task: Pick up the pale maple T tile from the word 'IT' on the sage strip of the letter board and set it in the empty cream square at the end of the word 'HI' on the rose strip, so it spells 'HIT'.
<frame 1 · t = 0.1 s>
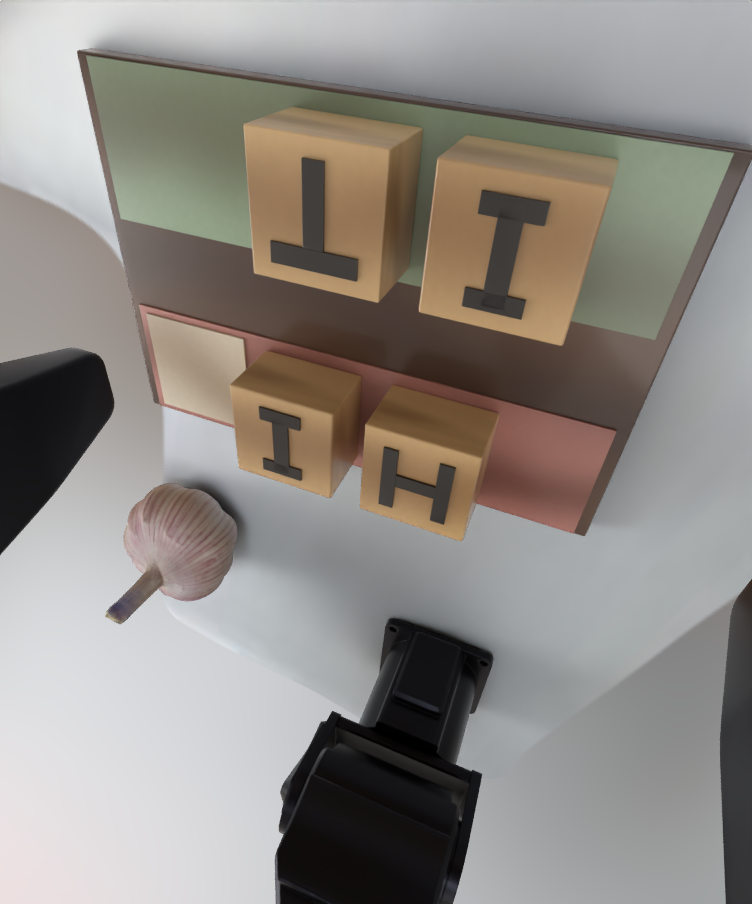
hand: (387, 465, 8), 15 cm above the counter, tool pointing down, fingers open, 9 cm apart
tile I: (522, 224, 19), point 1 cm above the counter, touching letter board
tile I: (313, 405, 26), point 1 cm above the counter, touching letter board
garlic bulb: (202, 514, 37), on the counter
letter board: (363, 309, 24), on the counter
tile H: (437, 441, 25), point 1 cm above the counter, touching letter board
tile T: (352, 191, 20), point 1 cm above the counter, touching letter board
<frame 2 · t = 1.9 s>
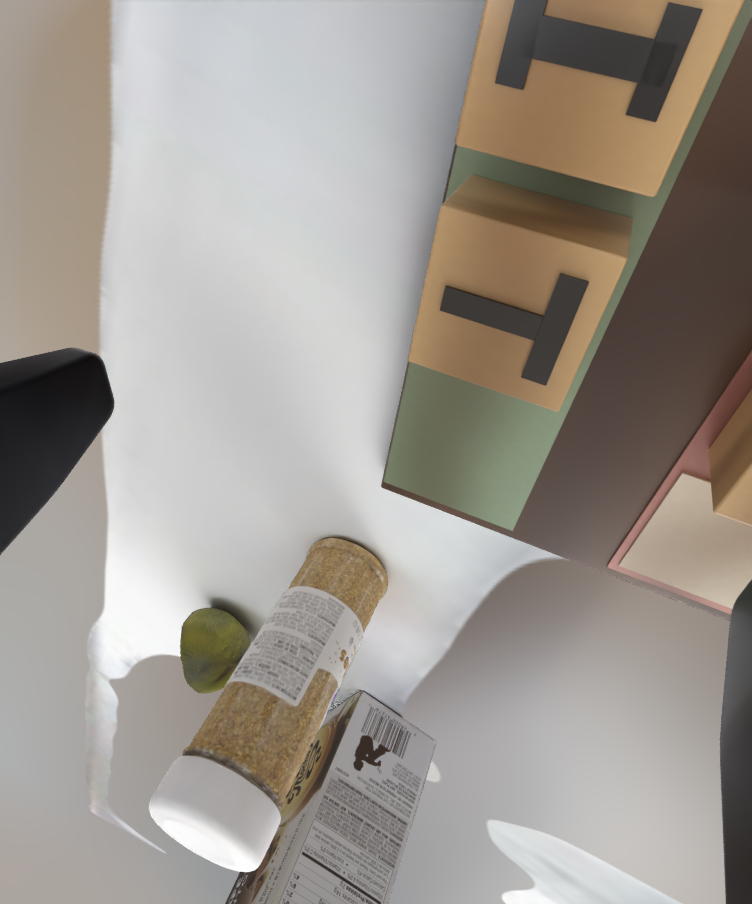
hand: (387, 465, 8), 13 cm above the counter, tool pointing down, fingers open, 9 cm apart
lime: (235, 615, 39), on the counter
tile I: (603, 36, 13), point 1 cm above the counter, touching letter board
sprinkles bottle: (350, 562, 31), on the counter
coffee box: (371, 729, 41), on the counter
letter board: (691, 299, 17), on the counter
tile T: (524, 273, 17), point 1 cm above the counter, touching letter board
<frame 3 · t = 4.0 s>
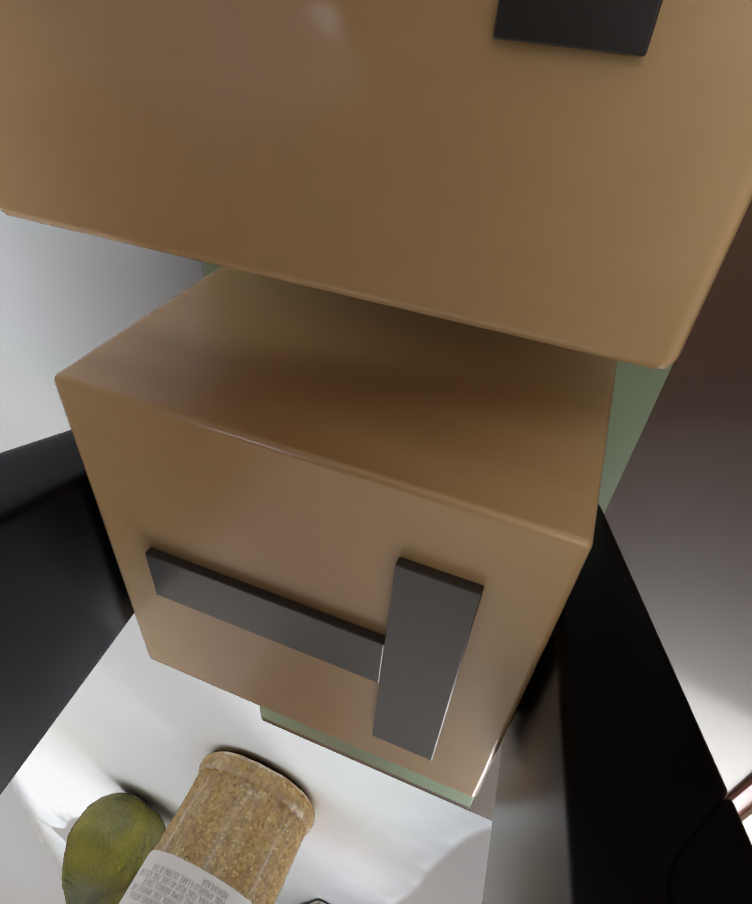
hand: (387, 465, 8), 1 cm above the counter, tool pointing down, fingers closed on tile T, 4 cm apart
lime: (151, 798, 29), on the counter
sprinkles bottle: (264, 775, 21), on the counter
tile T: (396, 446, 8), point 1 cm above the counter, touching gripper, letter board
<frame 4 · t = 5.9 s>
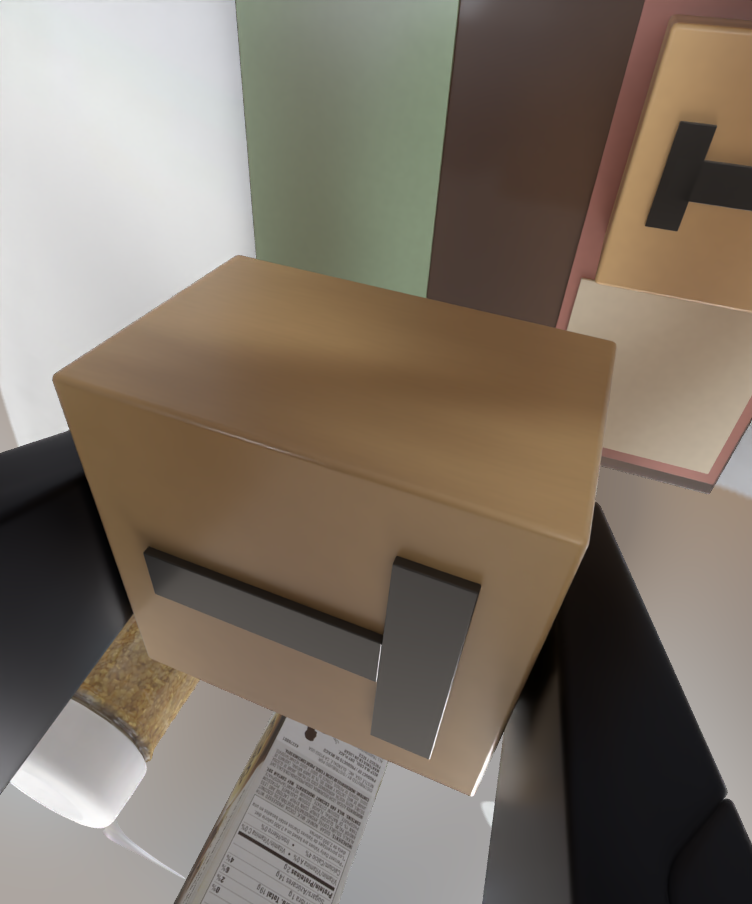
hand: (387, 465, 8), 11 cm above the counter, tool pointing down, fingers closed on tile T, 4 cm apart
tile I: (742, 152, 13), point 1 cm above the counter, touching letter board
sprinkles bottle: (269, 492, 27), on the counter
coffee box: (339, 703, 37), on the counter
letter board: (548, 27, 13), on the counter
tile T: (395, 446, 8), point 11 cm above the counter, touching gripper
when the fingers open (1 cm above the counter, at t = 8.2 s): tile T stays where it is, resting on letter board.
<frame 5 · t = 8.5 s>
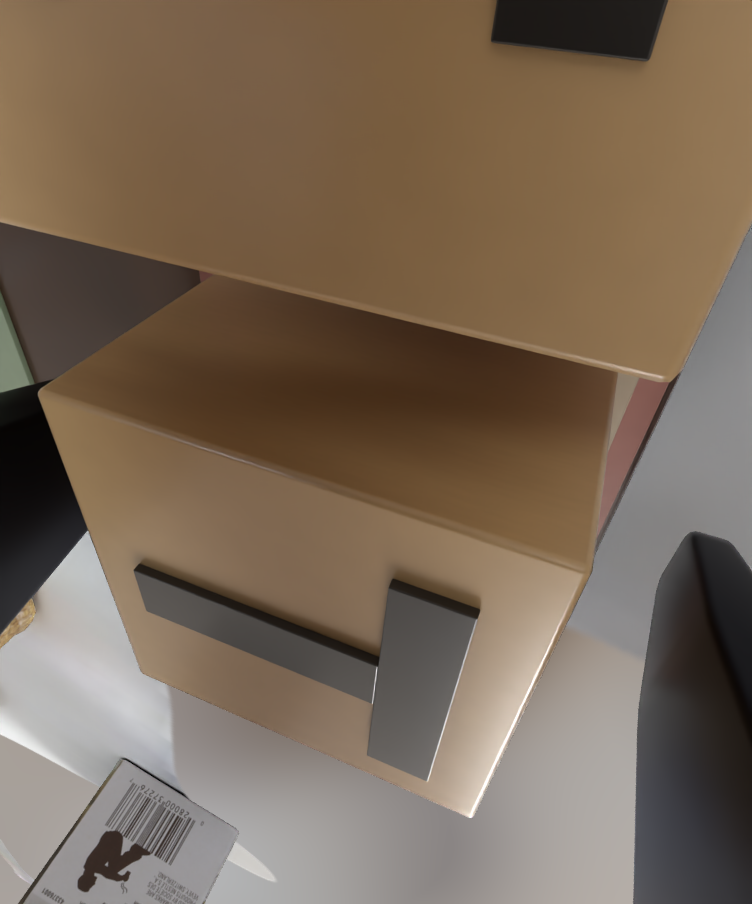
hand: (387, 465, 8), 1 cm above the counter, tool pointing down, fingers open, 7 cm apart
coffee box: (170, 808, 29), on the counter
tile T: (393, 457, 8), point 1 cm above the counter, touching letter board
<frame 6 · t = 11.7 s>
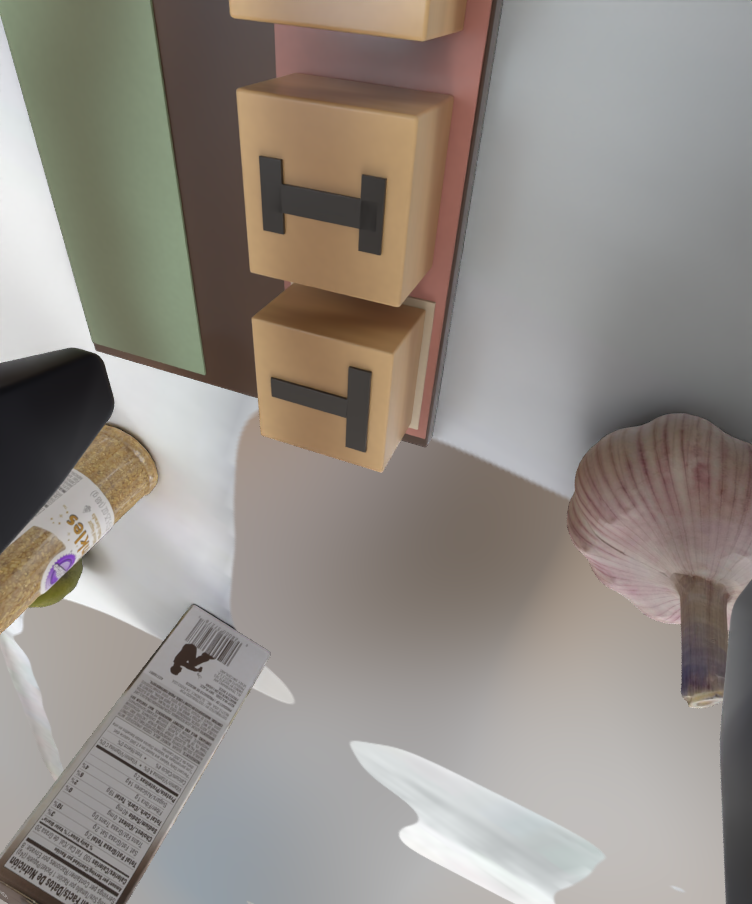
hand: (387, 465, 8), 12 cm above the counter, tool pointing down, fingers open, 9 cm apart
lime: (71, 537, 39), on the counter
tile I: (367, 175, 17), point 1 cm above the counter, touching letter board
sprinkles bottle: (126, 453, 31), on the counter
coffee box: (221, 650, 41), on the counter
garlic bulb: (687, 482, 20), on the counter
letter board: (233, 75, 17), on the counter
tile T: (357, 354, 20), point 1 cm above the counter, touching letter board
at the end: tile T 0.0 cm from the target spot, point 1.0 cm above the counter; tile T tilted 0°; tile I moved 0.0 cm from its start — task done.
